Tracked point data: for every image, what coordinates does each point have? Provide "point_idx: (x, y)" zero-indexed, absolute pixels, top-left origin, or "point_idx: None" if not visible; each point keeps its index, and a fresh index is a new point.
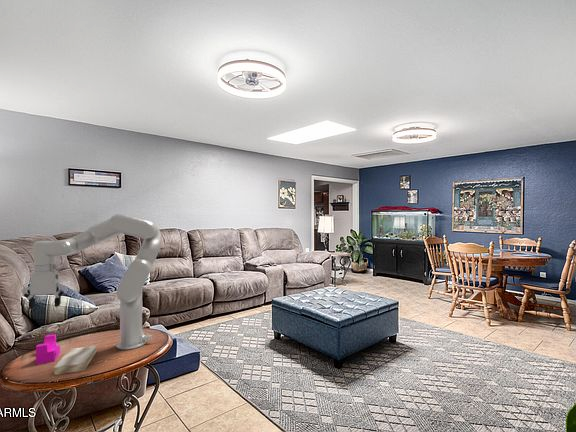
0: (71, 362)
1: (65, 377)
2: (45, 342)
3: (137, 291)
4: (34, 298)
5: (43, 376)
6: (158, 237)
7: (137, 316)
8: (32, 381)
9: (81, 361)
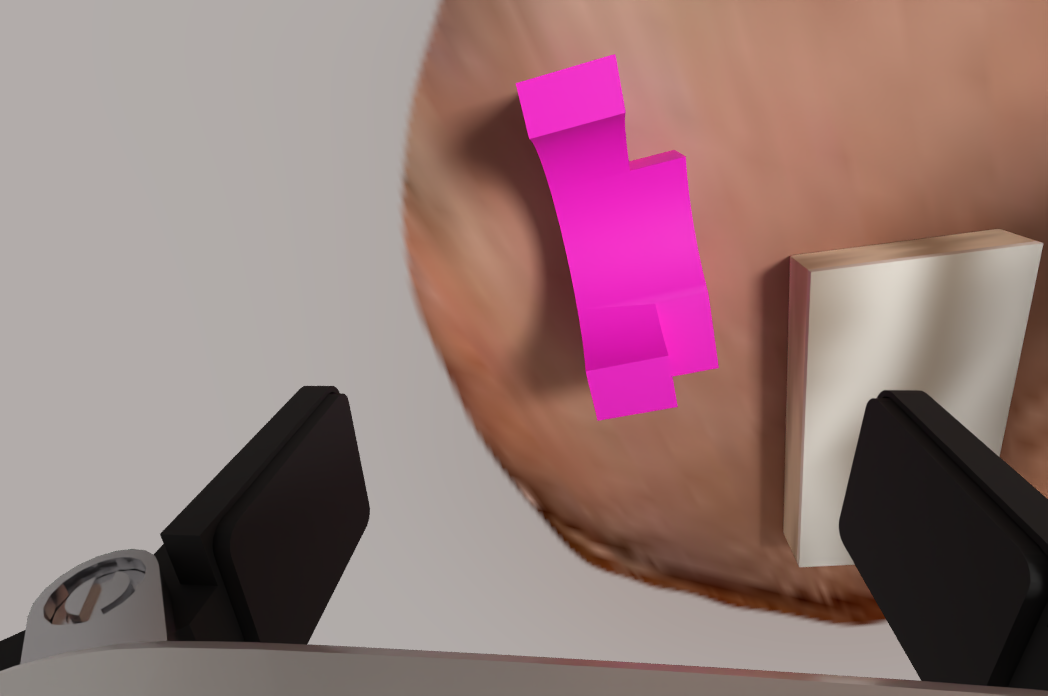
0: None
1: (855, 572)
2: (549, 154)
3: None
4: (211, 554)
5: (727, 531)
6: None
7: None
8: (693, 568)
9: None
